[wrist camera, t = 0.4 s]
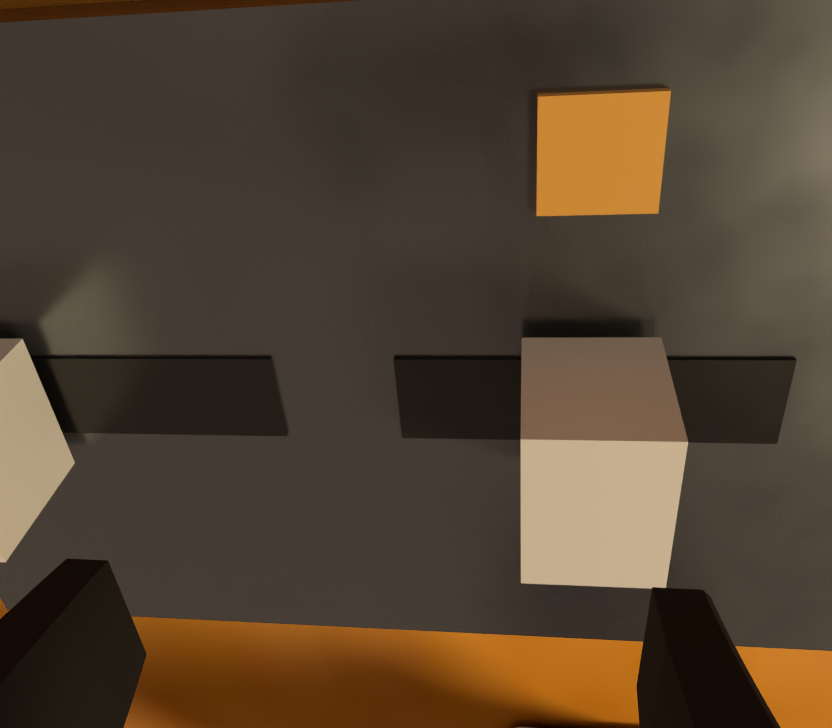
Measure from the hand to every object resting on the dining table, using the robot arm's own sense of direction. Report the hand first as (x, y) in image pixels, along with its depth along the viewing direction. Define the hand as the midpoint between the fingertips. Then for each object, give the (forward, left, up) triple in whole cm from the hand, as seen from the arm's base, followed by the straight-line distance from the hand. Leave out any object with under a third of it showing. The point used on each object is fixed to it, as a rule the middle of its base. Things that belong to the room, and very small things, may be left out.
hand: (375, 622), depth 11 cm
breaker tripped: (-3, -3, -8) cm, 9 cm away
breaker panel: (-3, -5, -10) cm, 12 cm away
